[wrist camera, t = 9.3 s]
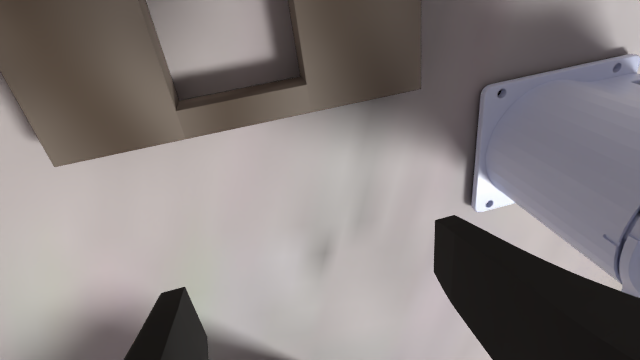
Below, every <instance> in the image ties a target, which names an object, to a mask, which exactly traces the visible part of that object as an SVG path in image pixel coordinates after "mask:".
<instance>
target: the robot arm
mask: <svg viewBox="0 0 640 360" xmlns="http://www.w3.org/2000/svg"><path fill="white" fill-rule="evenodd" d="M639 64H640V57H639V56H638V55H634V54H627V55H622V56H618V57H613V58H609V59H604V60H600V61H595V62H590V63H586V64H581V65H577V66H572V67H567V68H563V69H558V70H554V71H549V72H544V73H540V74H535V75H531V76H526V77H521V78H517V79H512V80H508V81H503V82H498V83H494V84H490V85H487V86H486V87H485V88H484V89H483V90H482V92H481V97H480V109H479V121H478V133H477V145H476V157H475V169H474V180H473V192H472V204H471V205H472V208H473V209H474V210H475V211H476V212H483V211H487V210H491V209H495V208H498V207H502V206H506V205H510V204H513V203H516V204H518V205H519V206H520V207H522V208H523V209H524V210H526V211H527V212H528V213H529V214H531V215H532V216H533V217H535V218H536V219H537V220H539V221H540V222H541V223H542V224H544V225H545V226H546V227H548V228H549V229H550V230H552V231H553V232H554V233H556V234H557V235H558V236H559V237H561V238H562V239H563V240H565V241H566V242H567V243H569V244H570V245H571V246H572V247H574V248H575V249H576V250H578V251H579V252H580V253H582V254H583V255H584V256H585V257H587V258H588V259H589V260H591V261H592V262H593V263H595V264H596V265H597V266H599V267H600V268H601V269H602V270H604V271H605V272H606V273H608V274H609V275H610V276H612V277H613V278H614V279H615V280H617V281H618V282H619V283H621V284H622V291H618V290H616V289H613V288H610V287H608V286H605V285H602V284H600V283H597V282H594V281H592V280H589V279H587V278H584V277H582V276H579V275H577V274H574V273H572V272H570V271H567V270H565V269H563V268H561V267H558V266H556V265H554V264H552V263H549V262H547V261H545V260H543V259H541V258H538V257H536V256H534V255H532V254H530V253H528V252H526V251H524V250H522V249H520V248H518V247H516V246H514V245H512V244H510V243H508V242H506V241H504V240H502V239H500V238H498V237H496V236H494V235H492V234H490V233H488V232H487V231H485V230H483V229H481V228H479V227H477V226H475V225H473V224H471V223H469V222H467V221H465V220H463V219H461V218H459V217H457V216H455V215H453V216H449V217H446V218H442V219H438V220H435V245H434V273H435V275H436V277H437V279H438V281H439V282H440V284H441V286H442V288H443V290H444V292H445V293H446V295H447V297H448V298H449V300H450V302H451V303H452V305H453V306H454V308H455V309H456V310H457V312H458V313H459V315H460V316H461V317H462V319H463V320H464V321H465V323H466V324H467V326H468V327H469V328H470V330H471V331H472V332H473V334H474V335H475V336H476V338H477V339H478V340H479V342H480V343H481V345H482V346H483V347H484V349H485V350H486V351H487V353H488V354H489V355H490V357H491V358H492V359H493V360H640V74H637V71H638V67H639ZM500 89H502V91H501V93H500V95H498V96H497V94H498V92H499V90H500ZM488 201H489V202H488ZM487 202H488V203H487ZM486 203H487V204H486ZM124 360H208V344H207V336H206V333H205V331H204V329H203V326H202V324H201V322H200V320H199V317H198V315H197V313H196V311H195V308H194V306H193V304H192V302H191V299H190V297H189V295H188V293H187V290H186V288H185V287H182V288H179V289H175V290H171V291H167V292H164V293H161V295H160V296H159V298H158V300H157V301H156V303H155V305H154V307H153V309H152V310H151V312H150V314H149V316H148V318H147V320H146V321H145V323H144V325H143V327H142V329H141V330H140V332H139V334H138V336H137V338H136V339H135V341H134V343H133V345H132V346H131V348H130V350H129V351H128V353H127V355H126V357H125V358H124Z"/></svg>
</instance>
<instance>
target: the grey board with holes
mask: <svg viewBox="0 0 640 360" xmlns="http://www.w3.org/2000/svg"><path fill="white" fill-rule="evenodd" d="M288 3H289V10H290V16H291V22H292V28H293V34H294V41H295V47H296V53H297V59H298V65H299V72H300V77H295V78H290V79H285V80H280V81H275V82H270V83H265V84H260V85H255V86H250V87H245V88H240V89H235V90H230V91H225V92H220V93H215V94H210V95H205V96H200V97H195V98H190V99H185V100H180V101H179V99H178V96H177V93H176V90H175V87H174V84H173V81H172V78H171V75H170V72H169V69H168V66H167V63H166V60H165V57H164V54H163V51H162V48H161V45H160V42H159V39H158V36H157V33H156V30H155V27H154V24H153V21H152V18H151V15H150V12H149V9H148V6H147V3H146V0H0V71H1V73H2V75H3V77H4V78H5V80H6V82H7V84H8V86H9V87H10V89H11V91H12V93H13V94H14V96H15V98H16V100H17V102H18V103H19V105H20V107H21V109H22V111H23V112H24V114H25V116H26V118H27V119H28V121H29V123H30V125H31V127H32V128H33V130H34V132H35V134H36V135H37V137H38V139H39V141H40V143H41V144H42V146H43V148H44V150H45V151H46V153H47V155H48V157H49V159H50V160H51V162H52V164H53V166H54V167H58V166H62V165H67V164H72V163H76V162H81V161H86V160H90V159H95V158H100V157H104V156H109V155H114V154H118V153H123V152H128V151H132V150H137V149H142V148H147V147H151V146H156V145H161V144H165V143H170V142H175V141H179V140H184V139H189V138H193V137H198V136H203V135H207V134H212V133H217V132H221V131H226V130H231V129H236V128H240V127H245V126H250V125H254V124H259V123H264V122H268V121H273V120H278V119H282V118H287V117H292V116H296V115H301V114H306V113H310V112H315V111H320V110H325V109H329V108H334V107H339V106H343V105H348V104H353V103H357V102H362V101H367V100H371V99H376V98H381V97H385V96H390V95H395V94H399V93H404V92H409V91H414V90H418V89H421V0H288Z"/></svg>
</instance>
